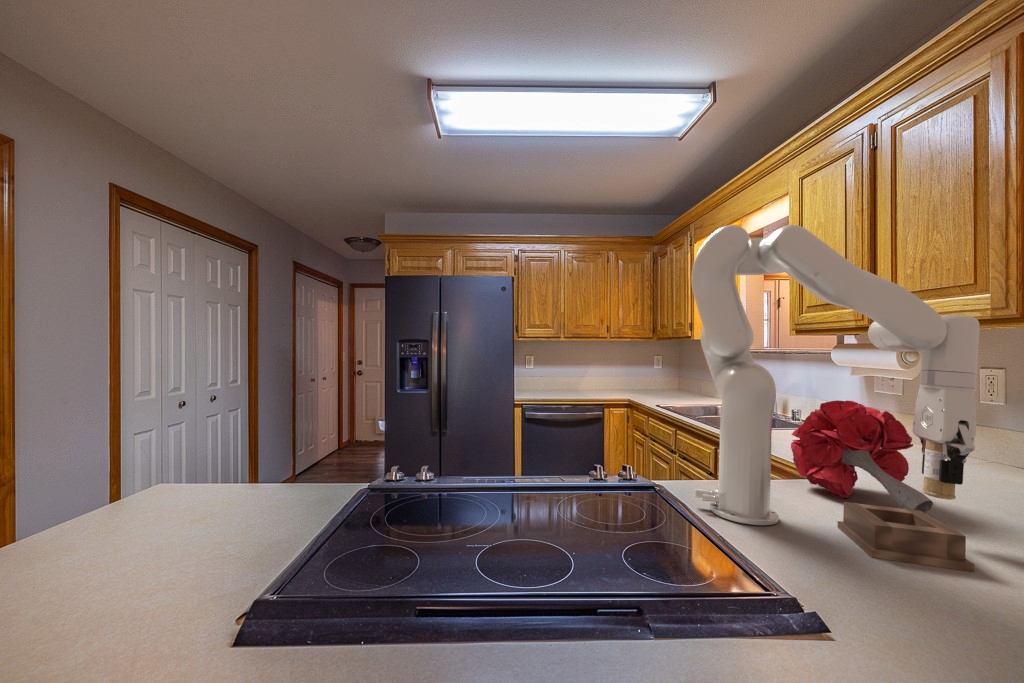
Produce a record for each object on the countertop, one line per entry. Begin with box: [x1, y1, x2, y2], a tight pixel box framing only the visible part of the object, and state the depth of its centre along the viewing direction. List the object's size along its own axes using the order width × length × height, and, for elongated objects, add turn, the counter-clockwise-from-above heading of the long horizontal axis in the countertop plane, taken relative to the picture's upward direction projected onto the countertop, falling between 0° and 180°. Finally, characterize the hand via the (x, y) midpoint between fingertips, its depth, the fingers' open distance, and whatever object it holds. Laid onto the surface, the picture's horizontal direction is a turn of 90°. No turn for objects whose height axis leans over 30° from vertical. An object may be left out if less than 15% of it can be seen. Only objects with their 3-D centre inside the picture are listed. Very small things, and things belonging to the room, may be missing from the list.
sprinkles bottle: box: [921, 440, 957, 500], centre depth 83 cm, size 5×5×13 cm
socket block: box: [837, 501, 975, 573], centre depth 79 cm, size 14×14×5 cm
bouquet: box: [790, 400, 934, 514], centre depth 106 cm, size 22×24×30 cm
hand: (941, 478), depth 83 cm, fingers closed on sprinkles bottle, 4 cm apart
